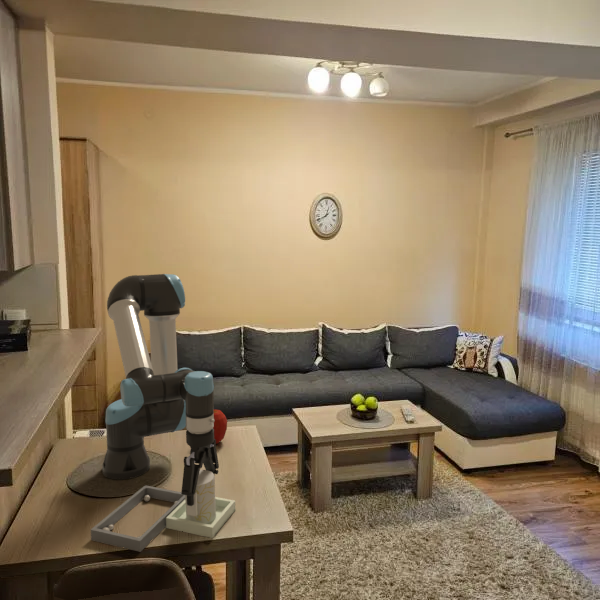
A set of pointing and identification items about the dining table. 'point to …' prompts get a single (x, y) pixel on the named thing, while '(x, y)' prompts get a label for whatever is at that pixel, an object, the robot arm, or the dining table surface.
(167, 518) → the sage tray
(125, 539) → the gravel bin
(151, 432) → the robot arm
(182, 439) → the dining table surface
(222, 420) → the apple
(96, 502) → the dining table surface
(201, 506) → the cup
